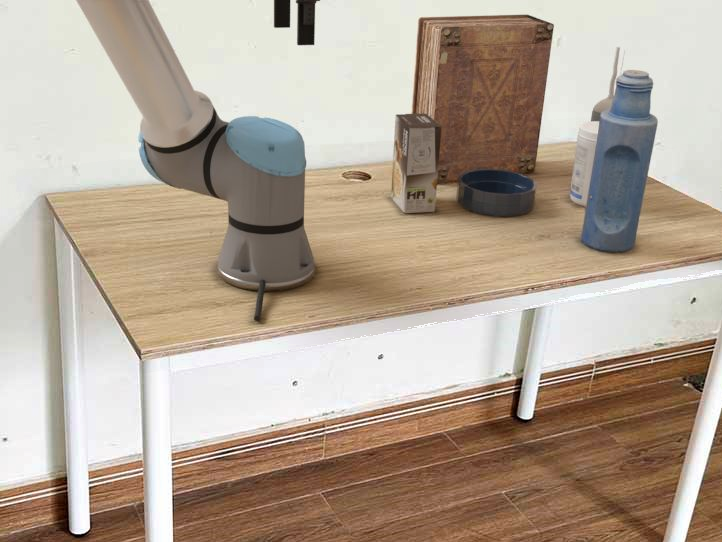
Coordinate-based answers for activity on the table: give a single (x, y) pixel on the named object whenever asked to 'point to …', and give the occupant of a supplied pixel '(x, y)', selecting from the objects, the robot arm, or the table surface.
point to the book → (483, 89)
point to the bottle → (620, 166)
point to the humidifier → (607, 102)
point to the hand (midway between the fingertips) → (293, 36)
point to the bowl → (496, 192)
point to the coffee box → (415, 162)
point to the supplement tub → (583, 162)
